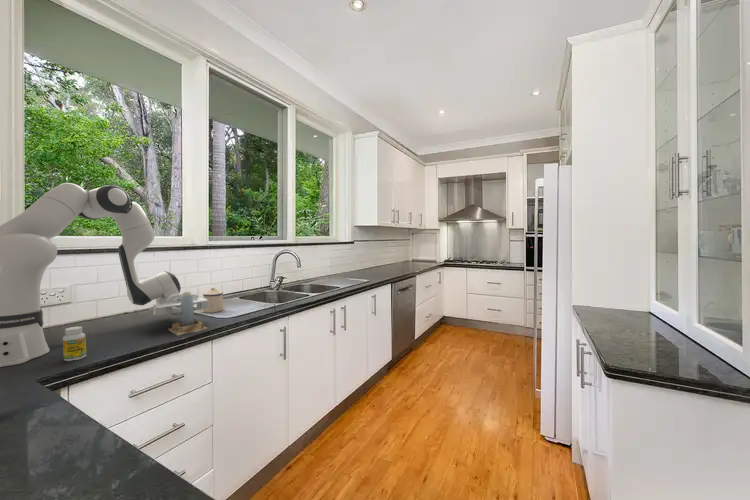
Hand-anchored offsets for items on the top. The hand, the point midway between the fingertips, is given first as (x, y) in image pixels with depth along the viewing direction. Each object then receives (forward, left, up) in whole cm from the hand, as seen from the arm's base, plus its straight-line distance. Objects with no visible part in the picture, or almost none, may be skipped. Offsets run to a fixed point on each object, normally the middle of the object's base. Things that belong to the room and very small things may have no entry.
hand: (188, 309), depth 135 cm
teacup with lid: (+19, +27, -9) cm, 34 cm away
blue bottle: (0, +1, -6) cm, 7 cm away
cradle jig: (0, +1, -8) cm, 8 cm away
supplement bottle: (-35, -6, -9) cm, 37 cm away
